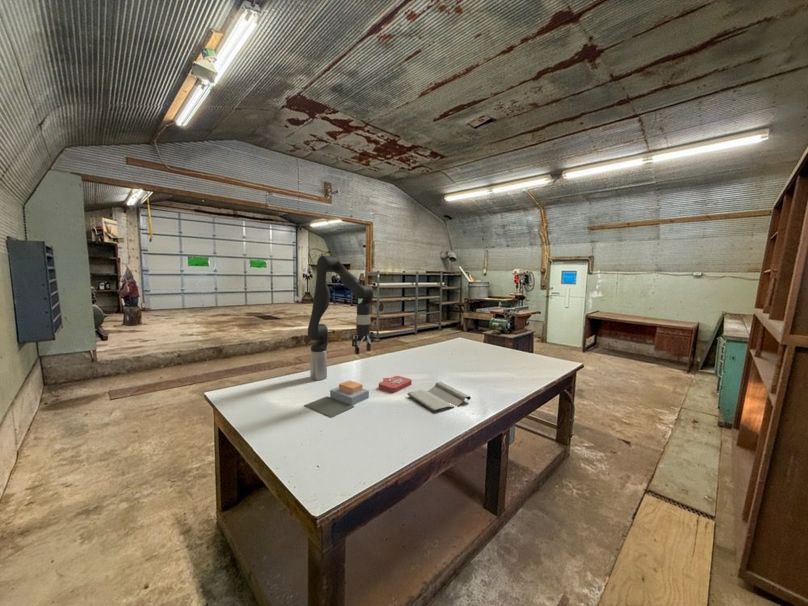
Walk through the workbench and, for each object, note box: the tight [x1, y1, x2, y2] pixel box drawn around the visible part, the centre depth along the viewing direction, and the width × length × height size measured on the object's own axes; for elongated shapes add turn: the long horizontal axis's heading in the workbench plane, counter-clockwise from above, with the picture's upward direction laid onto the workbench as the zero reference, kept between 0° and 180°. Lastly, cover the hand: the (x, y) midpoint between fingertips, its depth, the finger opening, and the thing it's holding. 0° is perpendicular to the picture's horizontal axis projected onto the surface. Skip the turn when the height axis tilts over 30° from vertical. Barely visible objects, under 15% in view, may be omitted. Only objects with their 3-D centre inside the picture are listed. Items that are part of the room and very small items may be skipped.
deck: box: [329, 386, 370, 406], centre depth 163 cm, size 16×12×4 cm
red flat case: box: [378, 375, 413, 394], centre depth 182 cm, size 18×4×15 cm
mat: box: [406, 381, 471, 413], centre depth 162 cm, size 23×24×5 cm
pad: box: [303, 395, 355, 418], centre depth 153 cm, size 20×14×1 cm
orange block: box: [338, 380, 364, 394], centre depth 164 cm, size 10×7×3 cm
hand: (362, 352), depth 169 cm, fingers open, 8 cm apart
